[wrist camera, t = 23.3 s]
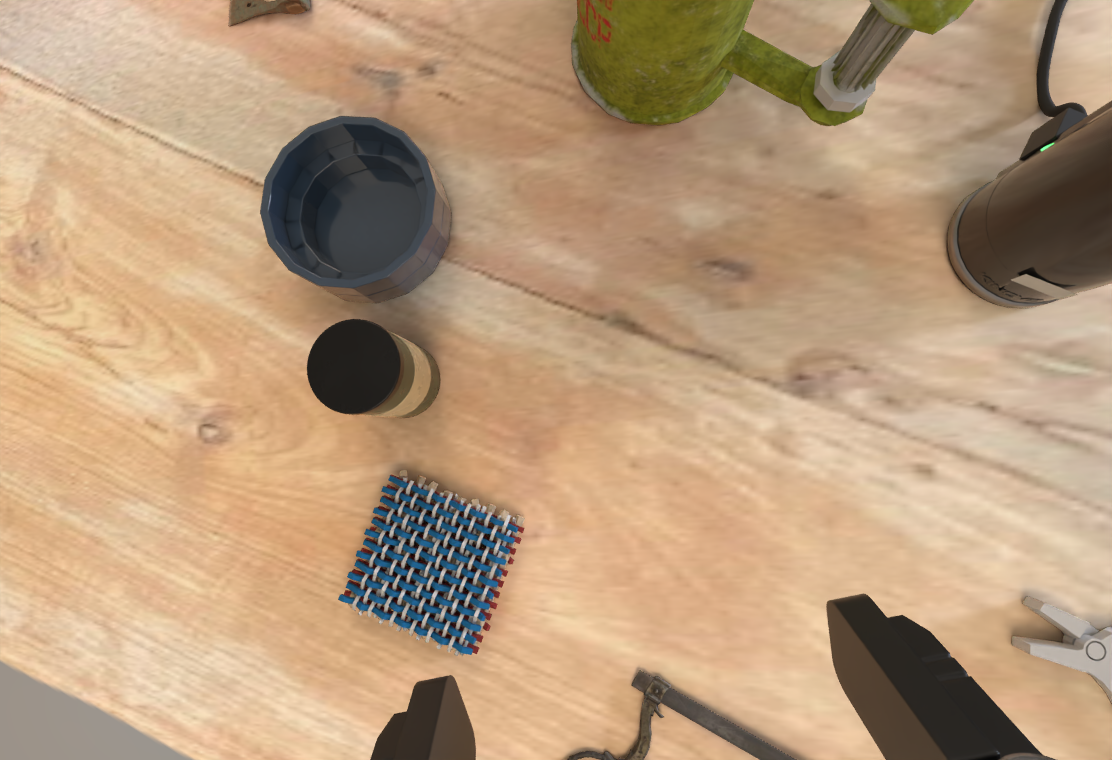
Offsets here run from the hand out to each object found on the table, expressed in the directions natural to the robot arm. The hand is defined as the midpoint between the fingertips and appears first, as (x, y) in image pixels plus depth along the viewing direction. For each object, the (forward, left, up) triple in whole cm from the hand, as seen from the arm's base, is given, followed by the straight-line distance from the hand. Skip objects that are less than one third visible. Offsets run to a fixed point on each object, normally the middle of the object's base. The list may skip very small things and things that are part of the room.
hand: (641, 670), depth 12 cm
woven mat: (+9, -9, -29) cm, 32 cm away
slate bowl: (-10, -25, -29) cm, 40 cm away
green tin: (-1, -18, -29) cm, 34 cm away
